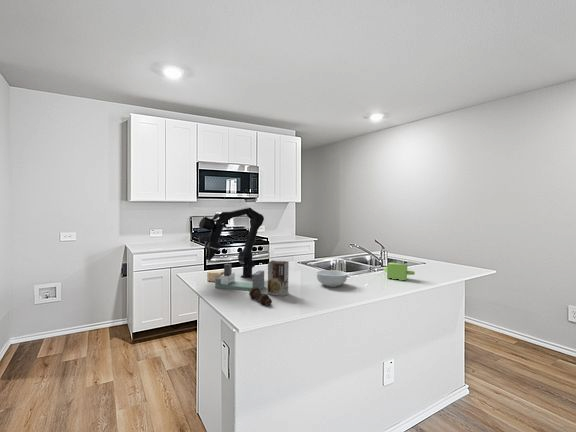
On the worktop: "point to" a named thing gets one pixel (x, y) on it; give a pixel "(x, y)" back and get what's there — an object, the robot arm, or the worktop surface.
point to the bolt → (260, 296)
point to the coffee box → (278, 278)
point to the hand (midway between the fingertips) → (207, 260)
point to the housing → (214, 275)
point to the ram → (227, 275)
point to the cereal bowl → (331, 277)
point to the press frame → (257, 282)
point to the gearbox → (397, 271)
